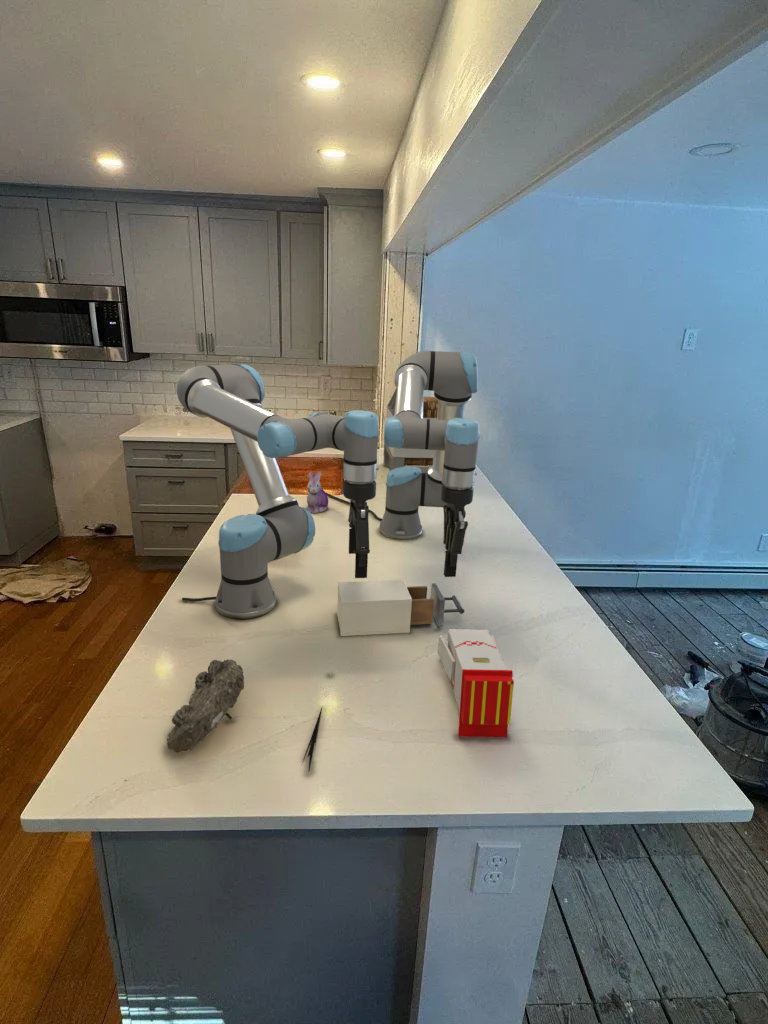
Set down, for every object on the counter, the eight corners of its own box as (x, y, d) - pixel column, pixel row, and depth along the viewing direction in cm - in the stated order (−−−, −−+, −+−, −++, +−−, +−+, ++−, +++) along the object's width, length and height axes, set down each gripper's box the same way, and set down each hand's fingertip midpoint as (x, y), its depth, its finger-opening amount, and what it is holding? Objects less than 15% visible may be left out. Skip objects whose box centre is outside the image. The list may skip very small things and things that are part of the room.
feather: (331, 679, 122) (336, 673, 122) (307, 777, 96) (313, 769, 95) (324, 675, 122) (329, 669, 121) (298, 772, 95) (304, 764, 95)
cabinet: (401, 611, 149) (403, 579, 146) (409, 632, 139) (412, 599, 136) (337, 614, 146) (337, 582, 143) (340, 636, 136) (341, 602, 133)
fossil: (192, 660, 117) (244, 628, 112) (224, 691, 120) (276, 661, 115) (142, 746, 98) (202, 712, 93) (182, 779, 101) (242, 748, 96)
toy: (488, 613, 130) (523, 677, 101) (484, 667, 133) (517, 744, 104) (435, 612, 130) (455, 676, 101) (432, 666, 133) (451, 743, 103)
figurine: (310, 515, 213) (310, 476, 208) (301, 506, 222) (301, 469, 217) (333, 512, 218) (334, 474, 213) (323, 503, 226) (324, 467, 221)
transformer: (382, 463, 289) (386, 382, 275) (445, 464, 293) (451, 384, 279) (390, 482, 257) (394, 392, 243) (460, 483, 261) (468, 394, 247)
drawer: (454, 607, 150) (456, 582, 148) (464, 625, 142) (467, 599, 139) (374, 610, 147) (376, 585, 144) (380, 629, 138) (381, 602, 136)
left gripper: (385, 497, 118) (381, 588, 125) (368, 465, 141) (365, 543, 148) (349, 497, 117) (347, 589, 124) (338, 465, 140) (337, 544, 147)
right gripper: (481, 493, 128) (472, 587, 136) (464, 477, 140) (456, 564, 148) (449, 494, 127) (441, 588, 135) (435, 477, 139) (428, 564, 147)
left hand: (357, 564), depth 136 cm, fingers open, 13 cm apart
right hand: (449, 575), depth 142 cm, fingers closed
